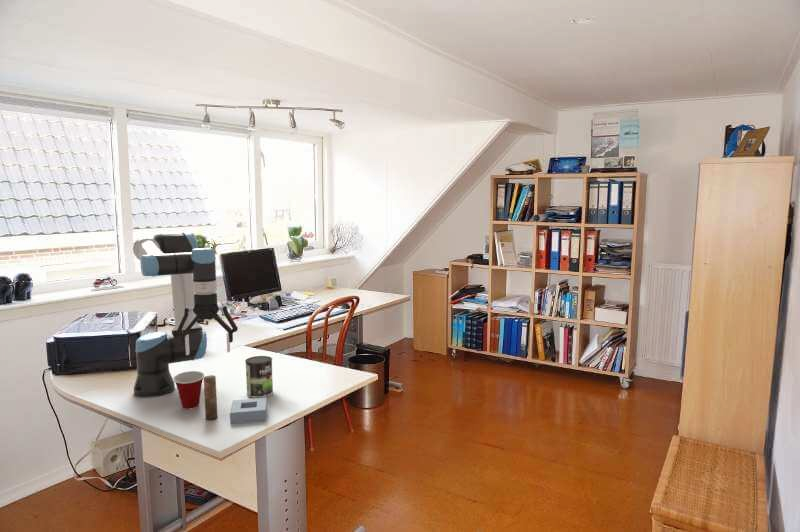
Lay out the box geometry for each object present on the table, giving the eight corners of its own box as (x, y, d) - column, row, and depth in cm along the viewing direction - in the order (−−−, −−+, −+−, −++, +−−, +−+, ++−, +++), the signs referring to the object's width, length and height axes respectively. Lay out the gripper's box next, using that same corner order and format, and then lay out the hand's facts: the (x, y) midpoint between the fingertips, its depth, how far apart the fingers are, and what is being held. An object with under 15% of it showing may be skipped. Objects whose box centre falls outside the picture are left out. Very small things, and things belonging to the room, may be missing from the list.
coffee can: (278, 391, 215) (277, 358, 213) (259, 400, 206) (258, 364, 204) (260, 387, 220) (259, 354, 218) (241, 395, 211) (239, 360, 210)
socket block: (230, 424, 184) (229, 412, 183) (233, 410, 195) (232, 400, 195) (266, 420, 186) (265, 409, 186) (266, 407, 198) (266, 397, 198)
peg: (204, 420, 187) (202, 379, 185) (206, 416, 191) (204, 375, 189) (216, 419, 188) (214, 378, 186) (218, 415, 191) (216, 375, 190)
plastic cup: (173, 413, 193) (171, 381, 191) (176, 403, 203) (174, 372, 202) (205, 410, 196) (203, 378, 195) (206, 399, 206) (204, 369, 205)
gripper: (164, 296, 177) (168, 358, 180) (242, 293, 183) (244, 353, 185) (168, 292, 184) (172, 352, 187) (243, 289, 190) (246, 347, 192)
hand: (208, 352), depth 186 cm, fingers open, 13 cm apart
